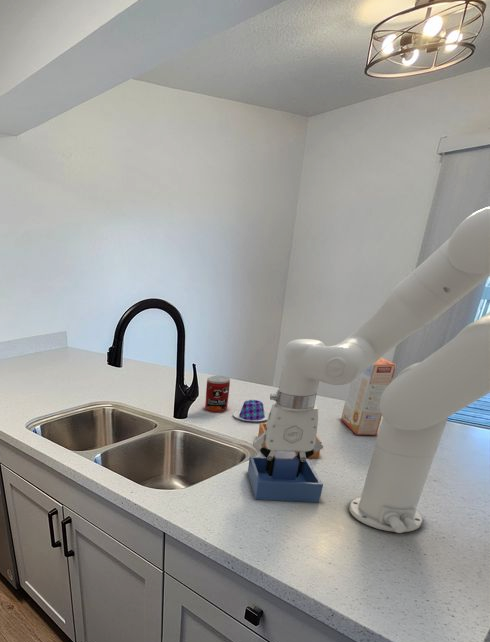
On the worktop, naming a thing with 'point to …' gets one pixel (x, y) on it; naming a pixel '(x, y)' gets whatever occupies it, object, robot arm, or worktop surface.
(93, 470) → the worktop surface
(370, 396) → the cracker box
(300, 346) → the robot arm
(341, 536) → the worktop surface
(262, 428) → the amber bin
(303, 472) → the blue bin
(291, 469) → the blue block
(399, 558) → the worktop surface
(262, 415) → the pudding
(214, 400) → the canned food
